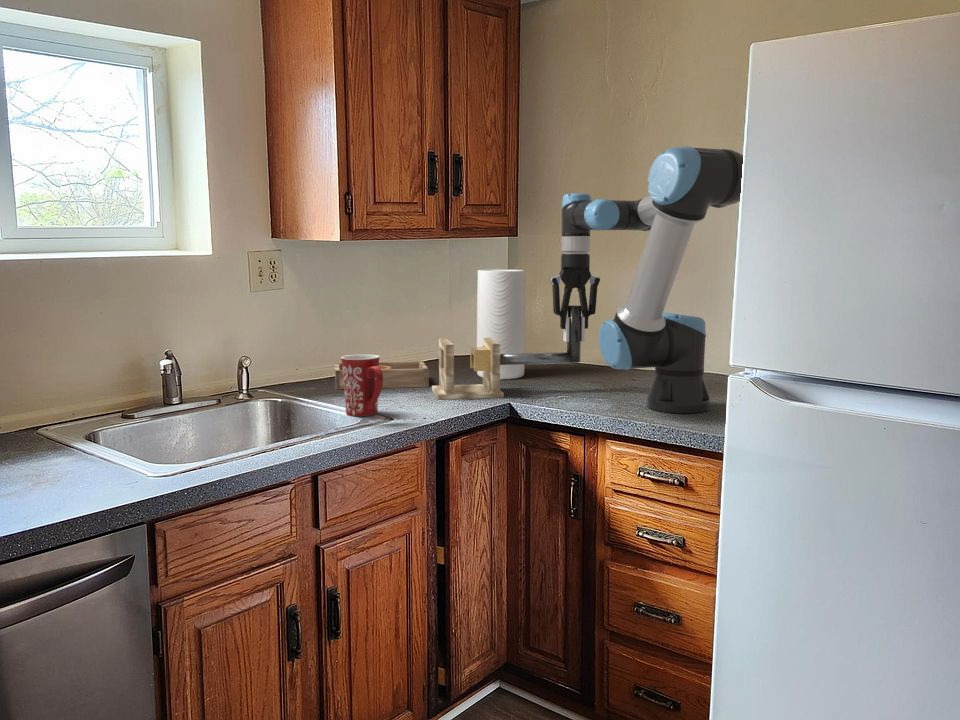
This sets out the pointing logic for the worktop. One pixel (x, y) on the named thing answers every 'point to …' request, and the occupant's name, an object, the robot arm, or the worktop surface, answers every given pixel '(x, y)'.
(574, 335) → the shaft
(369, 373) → the mug
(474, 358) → the block
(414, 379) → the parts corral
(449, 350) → the jig
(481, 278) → the paper towel roll
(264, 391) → the worktop surface
